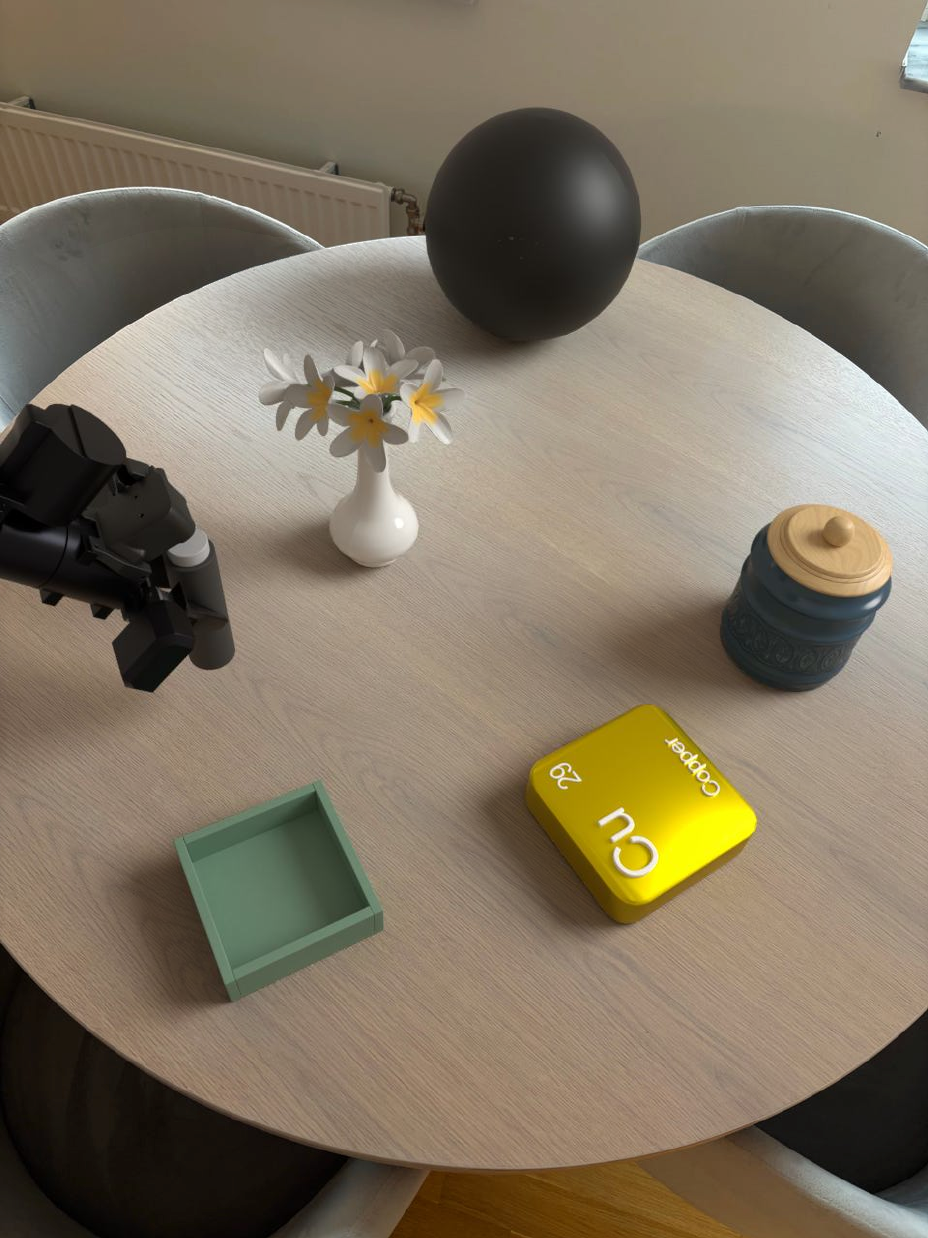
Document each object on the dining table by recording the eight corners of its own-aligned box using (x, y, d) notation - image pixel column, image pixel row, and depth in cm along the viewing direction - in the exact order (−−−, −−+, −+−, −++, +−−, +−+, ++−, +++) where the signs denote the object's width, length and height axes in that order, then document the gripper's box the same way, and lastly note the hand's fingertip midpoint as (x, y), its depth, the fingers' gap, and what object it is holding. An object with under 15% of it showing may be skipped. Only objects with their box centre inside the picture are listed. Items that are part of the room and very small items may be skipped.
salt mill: (213, 678, 82) (186, 568, 71) (179, 655, 83) (148, 545, 72) (244, 648, 84) (223, 537, 73) (211, 627, 86) (185, 515, 75)
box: (231, 1002, 72) (224, 985, 68) (181, 861, 78) (172, 839, 75) (383, 930, 76) (383, 910, 73) (323, 802, 83) (320, 779, 79)
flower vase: (289, 502, 105) (266, 303, 86) (455, 511, 106) (470, 315, 86) (273, 591, 97) (243, 394, 78) (452, 600, 98) (468, 407, 78)
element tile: (753, 846, 83) (770, 821, 79) (619, 935, 77) (631, 912, 73) (643, 720, 90) (655, 691, 86) (514, 793, 84) (520, 765, 81)
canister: (836, 712, 92) (915, 595, 78) (705, 669, 94) (759, 548, 80) (849, 616, 100) (923, 494, 86) (728, 579, 102) (782, 454, 88)
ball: (414, 268, 136) (419, 65, 115) (597, 267, 139) (634, 70, 118) (430, 386, 120) (439, 174, 99) (637, 382, 123) (689, 177, 102)
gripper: (139, 565, 60) (315, 624, 72) (82, 390, 70) (245, 467, 82) (43, 675, 64) (226, 714, 76) (3, 493, 74) (169, 552, 86)
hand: (218, 604), depth 80 cm, fingers closed on salt mill, 4 cm apart
